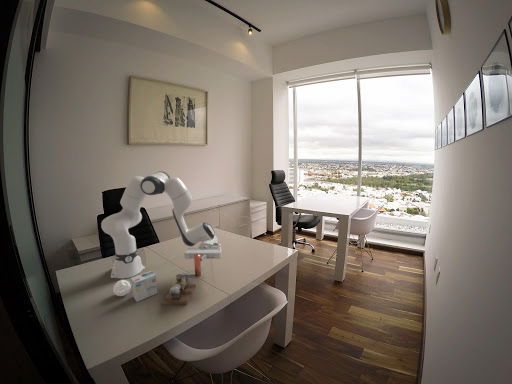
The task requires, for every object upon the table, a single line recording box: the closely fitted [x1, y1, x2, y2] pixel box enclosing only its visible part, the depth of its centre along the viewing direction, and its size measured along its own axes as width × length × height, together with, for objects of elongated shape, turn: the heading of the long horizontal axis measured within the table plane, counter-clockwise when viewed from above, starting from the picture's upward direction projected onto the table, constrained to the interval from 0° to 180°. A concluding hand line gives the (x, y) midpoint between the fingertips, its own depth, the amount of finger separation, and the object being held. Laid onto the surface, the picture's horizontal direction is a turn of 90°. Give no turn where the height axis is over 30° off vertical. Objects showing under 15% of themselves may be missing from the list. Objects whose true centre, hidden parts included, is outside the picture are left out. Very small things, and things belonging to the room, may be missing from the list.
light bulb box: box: [130, 270, 158, 303], centre depth 119 cm, size 11×7×11 cm, turn 134°
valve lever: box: [175, 254, 202, 280], centre depth 117 cm, size 3×13×13 cm, turn 88°
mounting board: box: [161, 283, 197, 306], centre depth 119 cm, size 16×12×2 cm
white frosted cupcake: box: [112, 279, 132, 297], centre depth 120 cm, size 8×8×8 cm
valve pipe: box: [168, 272, 189, 300], centre depth 118 cm, size 14×5×7 cm, turn 178°
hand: (199, 259), depth 119 cm, fingers closed
